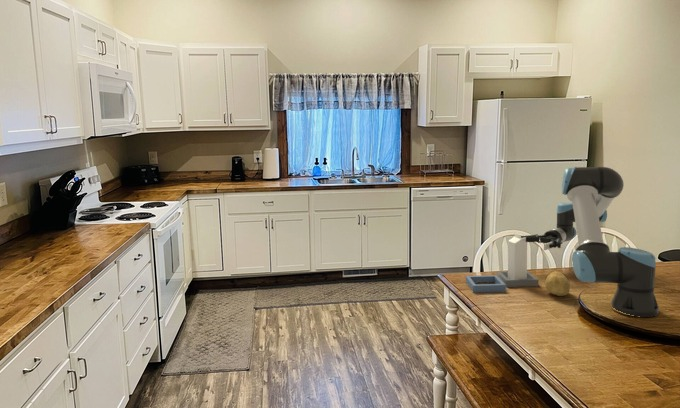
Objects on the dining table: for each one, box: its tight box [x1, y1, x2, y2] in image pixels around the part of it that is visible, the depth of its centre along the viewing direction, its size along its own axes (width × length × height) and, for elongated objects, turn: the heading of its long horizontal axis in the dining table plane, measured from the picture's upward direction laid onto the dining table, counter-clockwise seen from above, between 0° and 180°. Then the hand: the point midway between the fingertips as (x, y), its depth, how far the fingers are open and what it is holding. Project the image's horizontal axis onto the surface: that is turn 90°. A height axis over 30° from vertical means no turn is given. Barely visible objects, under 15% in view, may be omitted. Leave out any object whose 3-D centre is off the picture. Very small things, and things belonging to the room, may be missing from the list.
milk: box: [507, 233, 528, 279], centre depth 216 cm, size 6×6×22 cm
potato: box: [544, 270, 571, 297], centre depth 199 cm, size 10×14×10 cm
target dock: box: [465, 274, 507, 293], centre depth 212 cm, size 14×14×3 cm
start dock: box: [496, 270, 539, 288], centre depth 218 cm, size 14×14×3 cm
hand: (530, 244), depth 223 cm, fingers open, 13 cm apart
